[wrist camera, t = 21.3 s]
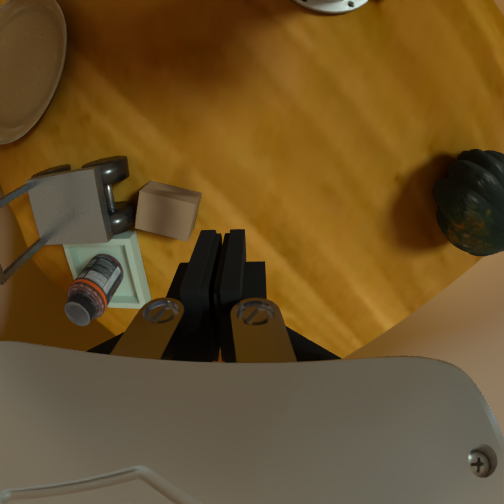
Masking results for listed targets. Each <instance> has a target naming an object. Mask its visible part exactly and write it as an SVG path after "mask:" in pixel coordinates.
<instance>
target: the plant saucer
mask: <svg viewBox="0 0 504 504" xmlns="http://www.w3.org/2000/svg"><path fill="white" fill-rule="evenodd" d="M67 43H68V35H67V25H66V20H65V17H64V14H63V11H62V9H61V7H60V6H59V4H58V3H57V1H56V0H9V1H7V2H6V3H4V4H3V5H2V6H1V7H0V144H8V143H11V142H13V141H16V140H17V139H19V138H21V137H22V136H23V135H25V134H26V133H27V132H28V131H29V130H30V129H31V128H32V127H33V126H34V125H35V124H36V123H37V122H38V120H39V119H40V118H41V116H42V115H43V113H44V112H45V110H46V109H47V107H48V105H49V104H50V102H51V100H52V98H53V96H54V94H55V92H56V90H57V87H58V85H59V82H60V79H61V76H62V73H63V69H64V65H65V60H66V53H67Z"/></svg>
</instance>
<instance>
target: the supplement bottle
mask: <svg viewBox="0 0 504 504" xmlns="http://www.w3.org/2000/svg"><path fill="white" fill-rule="evenodd" d="M123 275H124V272H123V268H122V266H121V264H120V263H119V261H118V260H117V259H115V258H114V257H113V256H111V255H108V254H98V255H96V256H94V257H93V258H92V259H91V260H90V262H89V263H88V264H87V265H86V266H85V268H84V269H83V270H82V271H81V273H80V274H79V275H78V276H77V278H76V279H75V280H74V281H73V283H72V284H71V285H70V287H69V289H68V292H67V299H68V301H67V303H66V305H65V307H64V308H65V313H66V315H67V316H68V318H69V319H70V320H71V321H72V322H74V323H75V324H77V325H80V326H86V325H88V324H89V323H90V321H91V320H92V319H96V318H98V317H100V316H101V315H102V314H103V313H104V311H105V309H106V308H107V306H108V304H109V302H110V301H111V299H112V297H113V295H114V294H115V292H116V290H117V289H118V287H119V285H120V284H121V282H122V280H123Z"/></svg>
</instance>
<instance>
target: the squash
mask: <svg viewBox="0 0 504 504" xmlns="http://www.w3.org/2000/svg"><path fill="white" fill-rule="evenodd" d="M447 171H448V178H446V177H445V178H442V179H440V180H438V181H437V182H436V183H435V185H434V187H433V196H434V199H435V201H436V203H437V205H438V208H437V213H436V217H437V221H438V224H439V226H440V228H441V230H442V232H443V233H444V235H445V236H446V237H447V239H448V240H449V241H450V242H451V243H452V244H453V245H454V246H456V247H457V248H459V249H461V250H463V251H465V252H468V253H470V254H471V255H474V256H488V255H492V254H495V253H498V252H501V251H504V154H502V153H500V152H496V151H490V150H487V151H482V150H479V149H473V150H470V151H463V152H462V153H461V154H460V155H459V157H458V160H457V161H453V162H452V163H450V165H449V166H448V170H447Z"/></svg>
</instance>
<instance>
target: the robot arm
mask: <svg viewBox="0 0 504 504" xmlns="http://www.w3.org/2000/svg"><path fill="white" fill-rule="evenodd" d="M293 1H294V2H296V3H297V4H299V5H301V6H303V7H305V8H307V9H310V10H313V11H316V12H321V13H326V14H341V13H347V12H351V11H354V10H356V9H358V8H360V7H361V6H363V5H364V4H365V3H366V2H367V1H368V0H306V2H303V1H302V0H293ZM348 4H349V5H350V6H351V7H349V6H348ZM220 349H221V356H222V361H225V363H218V362H213V361H218V358H219V350H220ZM0 504H504V436H503V434H502V432H501V430H500V427H499V425H498V423H497V421H496V419H495V417H494V415H493V413H492V410H491V408H490V407H489V405H488V403H487V401H486V400H485V398H484V396H483V395H482V393H481V391H480V390H479V389H478V387H477V386H476V384H475V383H474V382H473V380H472V379H471V378H470V377H469V376H468V375H467V374H466V372H464V371H463V370H462V369H461V368H459V367H457V366H456V365H454V364H451V363H448V362H446V361H442V360H438V359H432V358H427V357H420V356H419V357H418V356H379V357H367V358H351V359H341V358H340V357H338V356H336V355H335V354H333V353H331V352H329V351H328V350H326V349H324V348H322V347H321V346H319V345H317V344H315V343H314V342H312V341H310V340H309V339H307V338H305V337H303V336H302V335H300V334H298V333H297V332H295V331H293V330H292V329H290V328H288V327H286V326H285V323H284V320H283V317H282V314H281V311H280V309H279V307H278V306H277V305H276V304H275V303H274V302H272V301H270V300H268V299H267V296H266V273H265V262H246V243H245V229H234V230H230V233H225V236H224V241H223V245H222V236H221V233H220V234H216V230H201V232H200V235H199V237H198V240H197V243H196V245H195V248H194V251H193V253H192V256H191V259H190V261H189V263H180V264H179V266H178V269H177V271H176V274H175V276H174V278H173V281H172V283H171V286H170V288H169V291H168V293H167V296H166V298H157V299H154V300H151V301H149V302H148V303H146V304H144V305H143V307H142V308H141V309H140V310H139V312H138V313H137V315H136V316H135V317H134V319H133V320H132V322H131V323H130V325H129V326H128V328H127V329H126V331H125V332H123V333H121V334H119V335H118V336H116V337H114V338H112V339H110V340H108V341H106V342H104V343H102V344H100V345H98V346H96V347H94V348H92V349H90V350H88V351H86V352H83V351H76V350H69V349H63V348H57V347H51V346H46V345H38V344H32V343H26V342H16V341H0Z"/></svg>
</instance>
